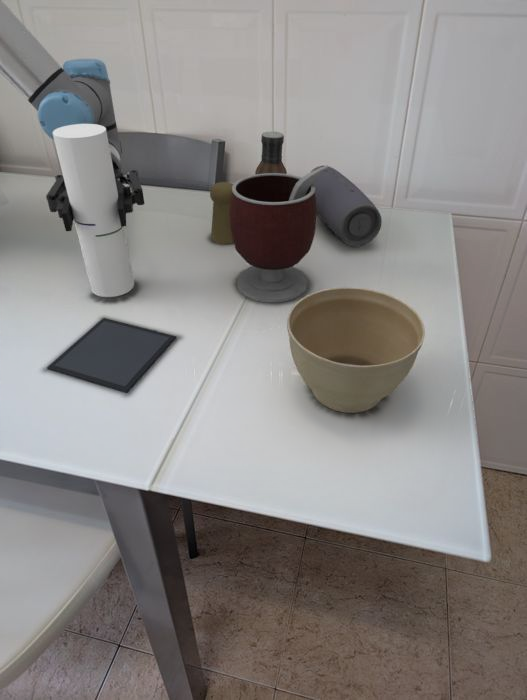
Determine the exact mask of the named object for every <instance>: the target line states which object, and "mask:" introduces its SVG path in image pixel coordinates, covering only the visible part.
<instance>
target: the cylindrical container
mask: <svg viewBox="0 0 527 700" xmlns="http://www.w3.org/2000/svg"><path fill="white" fill-rule="evenodd" d="M52 133H53V137H54V140H53V141H54V145H55V148H56V153H57V157H58V161H59V165H60V170H61V174H62V176H63V178H64V182H65V186H66V190H67V194H68V198H69V202H70V205H71V209H72V213H73V217H74V219H73V223H74V226H75V229H76V233H77V237H78V241H79V245H80V249H81V250H80V251H81V254H82V257H83V258H82V259H83V262H84V266H85V270H86V274H87V277H88V282H89V286H90V290H91V292H92V293H93V294H94V295H96V296H98V297H102V298H115V297H120V296H122V295H124V294H127V293H129V292H130V291H131V290H132V289H134V287H135V279H134V274H133V269H132V262H131V258H130V253H129V246H128V242H127V241H128V240H127V235H126V230H125V226H122V227H121V223H120V218H119V212H118V192H117V186H116V181H115V175H114V170H113V164H112V159H111V153H110V148H109V143H108V137H107V132H106V128H105V127H104V126H101V125H97V124H74V125H68V126H63V127H60V128H57V129H55V130H54V131H53V132H52Z"/></svg>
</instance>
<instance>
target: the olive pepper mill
mask: <svg viewBox="0 0 527 700" xmlns="http://www.w3.org/2000/svg"><path fill="white" fill-rule="evenodd" d="M233 184H234V183H231V182H228V181H220V182H215V183H214V184H212V186H211V187H210V190H209V196H210V199H211V201H212V216H211V217H212V218H211V229H210V231H211V233H210V240H211V241H212V242H213V243H215V244H218V245H219V244H220V245H231V244H234V243H233V239H232V234H231V229H230V201H231V194H232V186H233Z"/></svg>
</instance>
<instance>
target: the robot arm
mask: <svg viewBox="0 0 527 700" xmlns="http://www.w3.org/2000/svg"><path fill="white" fill-rule="evenodd" d="M0 74H1V75H2V76H3V77H4V78H5V79H6V80H7V81H8V82H9V83H10V84H11V85H12V86H13V87H14V89H16V90H17V91H18V92H19V93H20V94H21V96H23V98H25V100H27V101H28V103H30V105H31V106H32V107H33V108H34V109H35V110H36V111H37V118H38V121H39V125H40V126H41V129H42V130H43V132H44V133H45V134H46V135H47V136H48V137H49V138H50V139H52V140H53V141H54V137H53V133H52V132H53V131H54V130H55V129H57V128H60V127H63V126H68V125H74V124H97V125H101V126H104V127H105V128H106V132H107V137H108V143H109V148H110V153H111V159H112V164H113V170H114V175H115V181H116V186H117V192H118V212H119V218H120V223H121V227H122V226H124V227H127V214H131V213H133V212H134V205H135V204H136V205H137V206H144V205H145V198H144V191H143V187H142V185H141V183H140V176H139V170H137V169H132V170H130V171H129V172H126V174H124V172H123V171H122V154H123V147H122V143H121V140H120V137H119V131H118V125H117V121H116V115H115V109H114V103H113V96H112V91H111V80H110V79H109V78H110V77H109V74H108V70H107V66H106V64H105V62H104V61H102V60H101V59H97V58H75V59H68V60H66V61H65V62H64V63H63V64H62V66H61V65H60V64H59V62H58V61H57V60H56V59H55V58H54V57H53V56H52V54H50V53H49V51H48V50H47V49H46V47H44V46H43V45H42V44H41V43H40V41H38V39H37V38H36V37H35V36H34V35H33V34H32V32H30V31H29V29H28V28H27V27H26V25H24V23H23V22H22V21H21V20H20V19H19V18H18V17H17V15H15V14H14V12H13V11H11V9H10V8H9V7H8V6H7V5H6V3H5V2H4V1H3V0H0ZM54 178H55V182H53V184H52V186H51V188H50V189H49V191H48V192H47V194H46V196H45V197H46V201H47V205H48V208H49V211H50V213H57V215H58V218H59V219H62V222H63V226H64V230H65V232H72V230H73V224H74V217H73V213H72V209H71V205H70V202H69V198H68V194H67V190H66V186H65V182H64V178H63V174H57V175H55V176H54ZM125 183H126V184H127V185H128V186H125V185H124V184H125Z"/></svg>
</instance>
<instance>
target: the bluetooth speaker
mask: <svg viewBox="0 0 527 700" xmlns="http://www.w3.org/2000/svg"><path fill="white" fill-rule="evenodd" d="M324 166H325V165H319V166H316V167H315V168H313V169H312V170H311V171H310V172H312V171H314V170H316V169H319V168H321V167H324ZM328 167H329V171H326V172H324V173H322V174H321V175H319V176H318V177H317V178H316V179H315V180H314V181H313V183H312V184H313V185H314V187H315V196H316V205H317V216H318V217H319V218H320V219H321V221H322V222H323V223H324V224H325V225H326V226H327V227H328V228H329V229H330V230H331V231H332V233H333V234H334V235H335V236H336V237H338V238H339V239H340V240H342V241H343V242H344V243H346V244H347V245H349V246H351V247H360V246H365V245H367V244H369V243H371V242H372V241H374V239H375V238H377V236H378V235H379V233H380V231H381V229H382V225H383V223H382V222H383V221H382V216H381V212H380V211H379V210H378V208H377V207H376V205H375V204H374V203H373V202H372V201H371V199H370V198H369V197H368V196H367V195H366V194H365V193H364V192H363V191H362V190H361V188H359V187H358V186H357V185H356V184H354V182H352V181H351V180H350V179H348V177H346V176H345V175H343V173H342V172H339V170H337V169H335V168H334V167H331V166H329V165H328Z"/></svg>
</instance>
